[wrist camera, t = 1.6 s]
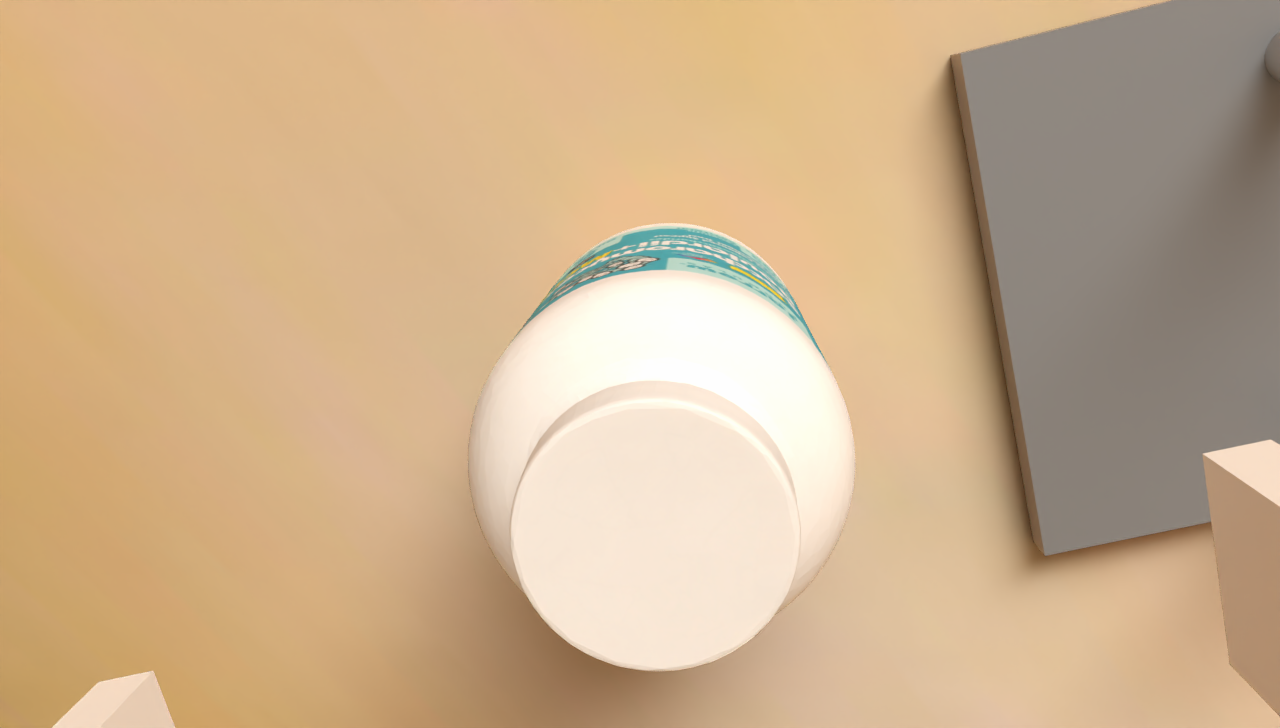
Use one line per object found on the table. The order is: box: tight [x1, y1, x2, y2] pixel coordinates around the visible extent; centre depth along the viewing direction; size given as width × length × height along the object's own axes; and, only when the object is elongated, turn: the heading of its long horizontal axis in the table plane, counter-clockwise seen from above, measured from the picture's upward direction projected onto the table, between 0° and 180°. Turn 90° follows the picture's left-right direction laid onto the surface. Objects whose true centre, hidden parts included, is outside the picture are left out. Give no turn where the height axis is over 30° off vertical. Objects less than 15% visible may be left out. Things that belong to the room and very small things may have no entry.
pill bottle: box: [468, 223, 855, 671], centre depth 23 cm, size 8×7×14 cm
